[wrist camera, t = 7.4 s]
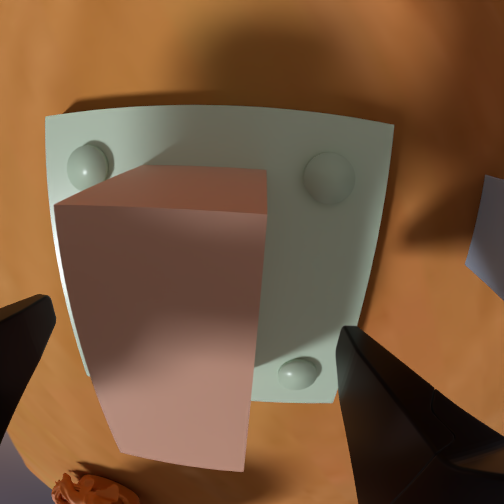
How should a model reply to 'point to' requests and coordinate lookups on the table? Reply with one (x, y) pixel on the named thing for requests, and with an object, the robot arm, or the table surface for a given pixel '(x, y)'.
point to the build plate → (278, 213)
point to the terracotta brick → (169, 305)
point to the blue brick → (489, 237)
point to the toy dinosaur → (92, 491)
